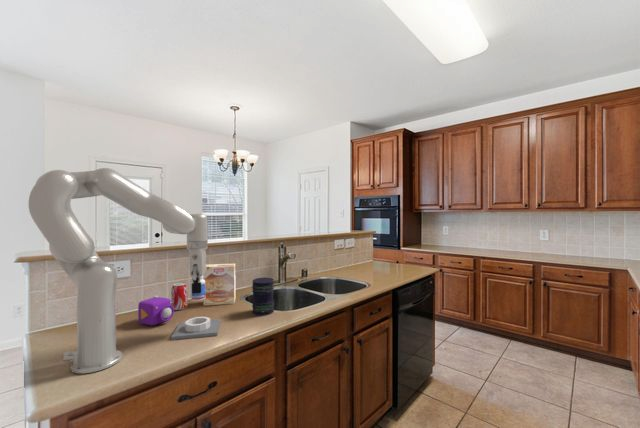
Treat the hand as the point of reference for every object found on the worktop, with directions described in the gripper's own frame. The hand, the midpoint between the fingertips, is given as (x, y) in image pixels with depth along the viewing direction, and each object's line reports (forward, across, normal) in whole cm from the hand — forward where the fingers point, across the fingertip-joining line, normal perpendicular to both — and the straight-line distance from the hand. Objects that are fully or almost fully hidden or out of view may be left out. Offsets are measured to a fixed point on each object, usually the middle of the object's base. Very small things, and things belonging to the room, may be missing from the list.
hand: (198, 290), depth 115 cm
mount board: (+16, 0, 0) cm, 16 cm away
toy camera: (+16, +13, +18) cm, 27 cm away
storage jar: (+16, +15, -26) cm, 34 cm away
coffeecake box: (+16, +34, -5) cm, 38 cm away
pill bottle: (+4, 0, 0) cm, 4 cm away
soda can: (+16, +29, +13) cm, 36 cm away
